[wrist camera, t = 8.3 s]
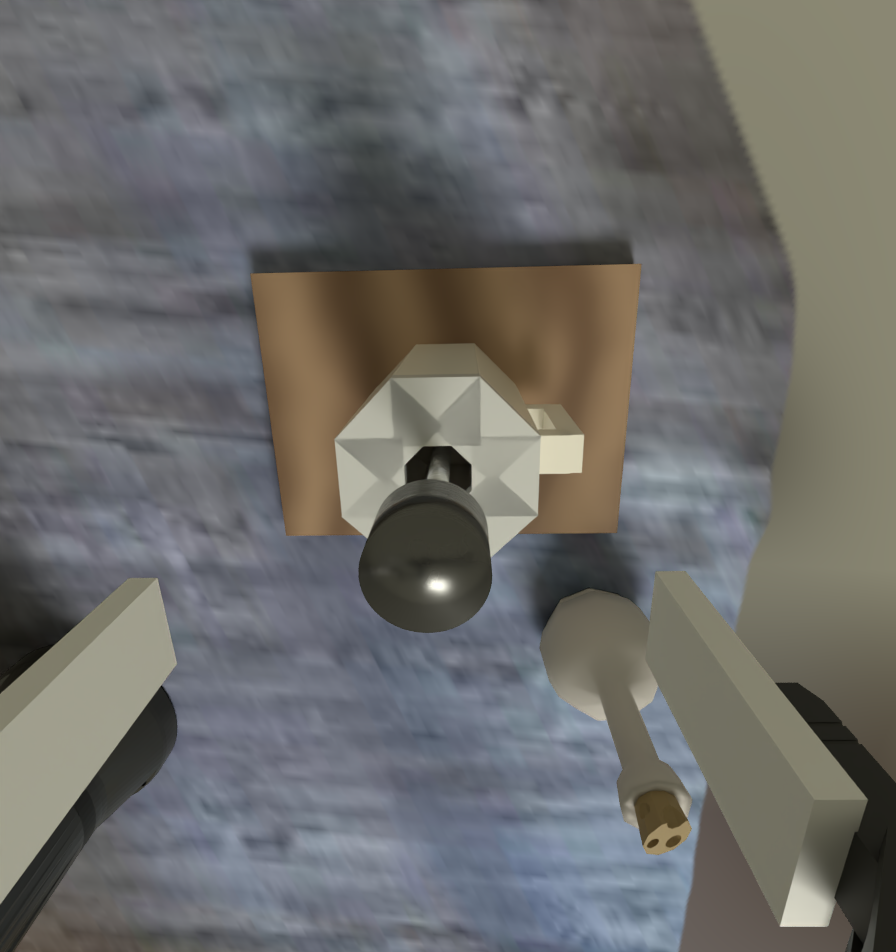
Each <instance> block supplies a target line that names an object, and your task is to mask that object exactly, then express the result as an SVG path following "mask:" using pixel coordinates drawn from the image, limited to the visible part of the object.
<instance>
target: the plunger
mask: <svg viewBox="0 0 896 952" xmlns="http://www.w3.org/2000/svg"><path fill="white" fill-rule="evenodd" d="M451 451H452V446H433V448H432V454H431V459H430V464H429V469H428V475H427V479H424V480H417V481H413V482H410V483H407V484H405V485H403V486H401V487H399V488H397V489H396V490H394V491H393V492H392V493H391V494H390V495H389V496H388V497H387V498H386V499H385V500H384V501H383V503H382V505H381V506H380V508H379V510H378V512H377V515H376V517H375V520H374V523H373V525H372V528H371V531H370V533H369V536H368V539H367V541H366V544H365V547H364V549H363V552H362V555H361V558H360V562H359V582H360V586H361V589H362V592H363V594H364V596H365V599H366V600H367V602H368V603H369V605H370V606H371V607H372V608H373V610H374V611H375V612H376V613H377V614H378V615H380V616H381V617H382V618H383V619H385V620H386V621H388V622H389V623H391V624H393V625H395V626H397V627H400V628H402V629H405V630H409V631H414V632H422V633H433V632H441V631H446V630H449V629H452V628H455V627H457V626H459V625H461V624H463V623H465V622H466V621H468V620H469V619H470V618H472V617H473V616H474V615H475V614H476V613H477V612H478V611H479V610H480V608H481V607H482V606H483V604H484V603H485V601H486V599H487V597H488V595H489V592H490V588H491V584H492V567H491V556H490V546H489V535H488V525H487V520H486V517H485V514H484V512H483V510H482V508H481V506H480V505H479V503H478V502H477V501H476V499H475V498H474V497H473V496H472V495H471V494H469V493H468V492H467V491H466V490H464V489H462V488H461V487H459V486H457V485H455V484H453V483H450V482H449V477H450V464H451Z"/></svg>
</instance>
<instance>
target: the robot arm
mask: <svg viewBox="0 0 896 952" xmlns="http://www.w3.org/2000/svg"><path fill="white" fill-rule="evenodd" d="M645 660H646V662H647V664H648V666H649V668H650V670H651V672H652V674H653V676H654V678H655V680H656V682H657V684H658V686H659V688H660V690H661V692H662V694H663V696H664V698H665V700H666V702H667V704H668V706H669V708H670V710H671V712H672V714H673V715H674V717H675V719H676V721H677V723H678V725H679V727H680V729H681V731H682V733H683V735H684V737H685V739H686V741H687V743H688V745H689V747H690V749H691V751H692V753H693V755H694V757H695V759H696V761H697V763H698V765H699V767H700V769H701V771H702V773H703V775H704V777H705V779H706V781H707V783H708V785H709V787H710V789H711V791H712V793H713V795H714V797H715V799H716V801H717V803H718V805H719V807H720V809H721V811H722V813H723V814H724V817H725V819H726V821H727V823H728V824H729V827H730V829H731V830H732V832H733V834H734V836H735V838H736V840H737V842H738V844H739V846H740V848H741V850H742V852H743V854H744V856H745V858H746V860H747V862H748V864H749V866H750V868H751V870H752V872H753V874H754V876H755V878H756V880H757V882H758V884H759V886H760V888H761V890H762V892H763V894H764V896H765V898H766V900H767V902H768V904H769V906H770V908H771V910H772V912H773V914H774V916H775V918H776V920H777V922H778V924H779V926H782V927H791V926H792V927H793V926H794V927H809V926H810V927H815V926H816V927H823V926H825V927H827V926H828V925H829V921H830V918H831V915H832V912H833V909H834V906H835V902H836V901H837V903H838V905H839V906H840V908H841V909H842V911H843V913H844V914H845V916H846V917H847V919H848V921H849V922H850V924H851V926H852V927H853V930H852V933H851V936H850V939H849V942H848V944H847V948H846V951H845V952H896V783H895V782H894V780H893V779H892V778H891V777H890V776H889V775H888V774H887V772H886V771H885V770H884V769H883V768H882V767H881V766H880V765H879V763H878V762H877V761H876V760H875V759H874V758H873V757H872V755H871V754H870V753H869V752H868V751H867V750H866V749H865V747H864V746H863V745H862V744H859V743H858V740H857V738H855V736H854V735H853V734H852V733H851V732H850V731H849V730H848V728H847V727H846V726H843V725H842V721H841V720H840V719H839V718H838V717H837V716H836V715H835V713H834V712H833V711H832V710H831V709H830V708H829V707H828V706H827V704H826V703H825V702H824V701H823V700H821V699H820V698H819V697H817V696H816V695H814V694H813V693H811V692H810V691H808V690H807V689H806V688H804V687H803V686H801V685H800V684H798V683H774V681H773V680H772V679H771V678H770V676H769V675H768V674H767V673H766V671H765V670H764V669H763V668H762V667H761V665H760V664H759V663H758V661H757V660H756V659H755V658H754V656H753V655H752V654H751V653H750V651H749V650H748V649H747V648H746V646H745V645H744V644H743V643H742V641H741V640H740V639H739V638H738V636H737V635H736V634H735V633H734V631H733V630H732V629H731V628H730V626H729V625H728V624H727V623H726V621H725V620H724V619H723V618H722V616H721V615H720V614H719V613H718V611H717V610H716V609H715V608H714V606H713V605H712V604H711V603H710V601H709V600H708V599H707V598H706V596H705V595H704V594H703V593H702V591H701V590H700V589H699V588H698V586H697V585H696V584H695V583H694V581H693V580H692V579H691V578H690V576H689V575H688V574H687V573H686V571H656V573H655V581H654V590H653V598H652V607H651V615H650V623H649V632H648V640H647V649H646V657H645ZM176 665H177V662H176V657H175V653H174V649H173V644H172V640H171V636H170V631H169V627H168V622H167V618H166V614H165V609H164V605H163V600H162V596H161V592H160V587H159V583H158V579H157V578H129V579H128V580H126V581H125V582H124V583H123V584H122V585H121V586H120V587H119V588H117V589H116V590H115V591H114V592H113V593H112V594H111V595H110V596H109V597H107V598H106V599H105V600H104V601H103V602H102V603H101V604H100V605H99V606H97V607H96V608H95V609H94V610H93V611H92V612H91V613H90V614H89V615H87V616H86V617H85V618H84V619H83V620H82V621H81V622H80V623H79V624H77V625H76V626H75V627H74V628H73V629H72V630H71V631H70V632H69V633H67V634H66V635H65V636H64V637H63V638H62V639H61V640H60V641H59V642H57V643H56V644H55V645H52V646H47V647H44V648H41V649H38V650H35V651H33V652H31V653H29V654H28V655H26V656H25V657H23V658H22V659H21V660H20V661H18V662H17V663H16V664H15V665H14V666H13V667H12V668H10V669H9V670H8V671H7V672H6V673H5V674H3V675H2V676H1V677H0V952H14V951H15V949H16V948H17V946H18V945H19V943H20V942H21V940H22V939H23V937H24V936H25V934H26V933H27V931H28V930H29V928H30V927H31V925H32V924H33V922H34V921H35V919H36V918H37V916H38V915H39V913H40V912H41V910H42V909H43V907H44V906H45V904H46V903H47V901H48V900H49V898H50V897H51V895H52V894H53V892H54V891H55V889H56V888H57V886H58V885H59V883H60V882H61V880H62V879H63V877H64V876H65V874H66V873H67V871H68V870H69V868H70V867H71V865H72V863H73V862H74V860H75V859H76V857H77V856H78V854H79V853H80V851H81V850H82V848H83V847H84V845H85V844H86V843H87V841H88V840H89V838H90V837H91V835H92V834H93V832H94V831H95V829H96V828H97V827H98V826H100V825H101V824H102V823H103V822H104V821H105V820H106V819H107V818H108V817H110V816H111V815H112V814H113V813H114V812H115V811H116V810H117V809H118V808H119V807H120V806H121V805H122V804H123V803H124V802H125V801H126V800H127V799H128V798H129V797H130V796H131V795H133V794H135V793H137V792H138V791H140V790H141V789H142V788H144V787H145V786H146V785H147V784H148V783H149V782H150V781H151V780H152V779H153V778H154V777H155V776H156V775H157V773H158V772H159V770H160V769H161V767H162V766H163V764H164V762H165V761H166V759H167V758H168V756H169V754H170V753H171V751H172V749H173V747H174V745H175V741H176V737H177V720H176V716H175V712H174V709H173V707H172V704H171V702H170V700H169V698H168V697H167V695H166V693H165V692H164V690H163V689H162V688H161V687H160V686H161V685H162V684H163V682H164V681H165V679H166V678H167V677H168V675H169V674H170V673H171V671H172V670H173V669H174V667H175V666H176Z"/></svg>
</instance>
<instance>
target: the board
mask: <svg viewBox="0 0 896 952" xmlns="http://www.w3.org/2000/svg"><path fill="white" fill-rule="evenodd" d="M640 274H641V264H618V265H577V266H537V267H497V268H457V269H417V270H376V271H336V272H296V273H256V274H251V282H252V289H253V296H254V304H255V311H256V318H257V326H258V333H259V340H260V348H261V355H262V362H263V369H264V377H265V384H266V391H267V399H268V406H269V413H270V421H271V428H272V435H273V443H274V450H275V457H276V465H277V472H278V479H279V486H280V494H281V501H282V508H283V516H284V523H285V530H286V536H297V535H363V534H362V533H360V532H359V531H358V530H357V529H356V528H354V527H353V526H352V525H351V524H350V523H348V522H347V521H346V520H345V519H344V518H342V511H341V501H340V491H339V480H338V470H337V460H336V449H335V437H336V436H337V435H338V434H339V433H340V431H341V430H342V429H343V428H344V426H345V425H346V424H347V423H348V422H349V420H350V419H351V418H352V417H353V416H354V414H355V413H356V412H357V411H358V409H359V408H360V407H361V406H362V405H363V403H364V402H365V401H366V400H367V399H368V397H369V396H370V395H371V394H372V392H373V391H374V390H375V389H376V388H377V386H379V385H380V384H381V382H382V381H383V380H384V379H385V378H386V377H387V376H388V375H389V374H390V373H391V371H392V370H393V369H394V368H395V367H396V366H397V365H398V364H399V363H400V362H401V361H402V359H403V358H404V357H405V356H406V355H407V354H408V353H409V352H410V351H411V350H412V349H413V347H414V346H415V345H416V344H465V343H475V344H476V345H477V346H478V347H479V348H480V349H481V350H482V351H483V352H484V353H485V354H486V355H487V356H488V357H489V358H490V359H491V360H492V361H493V362H494V363H495V364H496V365H497V366H498V367H499V368H500V369H501V370H502V371H503V372H504V373H505V374H506V375H507V376H508V377H509V378H510V379H511V380H512V381H513V382H514V383H515V384H516V386H517V388H518V390H519V392H520V395H521V397H522V399H523V401H524V403H525V404H561V405H562V407H563V408H564V409H565V411H566V412H567V413H568V414H569V416H570V417H571V418H572V420H573V421H574V422H575V423H576V425H577V426H578V427H579V429H580V430H581V431H582V432H583V434H584V445H583V461H582V473H570V474H539V498H538V516H537V517H536V518H534V519H533V520H532V521H531V522H530V523H529V524H528V525H527V526H525V527H524V528H523V529H522V530H521V531H520V532H519V533H518V534H549V533H617V526H618V515H619V504H620V493H621V482H622V471H623V460H624V449H625V438H626V427H627V417H628V406H629V395H630V384H631V373H632V362H633V351H634V340H635V329H636V318H637V307H638V296H639V285H640Z"/></svg>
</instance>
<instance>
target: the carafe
mask: <svg viewBox="0 0 896 952" xmlns="http://www.w3.org/2000/svg"><path fill="white" fill-rule="evenodd" d="M583 445H584V434H583V432H582V431H581V430H580V429H579V427H578V426H577V425H576V423H575V422H574V421H573V420H572V418H571V417H570V416H569V414H568V413H567V412H566V411H565V409H564V408H563V407H562V405H561V404H525V403H524V401H523V399H522V397H521V395H520V392H519V390H518V388H517V386H516V384H515V383H514V382H513V381H512V380H511V379H510V378H509V377H508V376H507V375H506V374H505V373H504V372H503V371H502V370H501V369H500V368H499V367H498V366H497V365H496V364H495V363H494V362H493V361H492V360H491V359H490V358H489V357H488V356H487V355H486V354H485V353H484V352H483V351H482V350H481V349H480V348H479V347H478V346H477V345H476V344H475V343H465V344H416V345H415V346H414V347H413V349H412V350H411V351H410V352H409V353H408V354H407V355H406V356H405V357H404V358H403V359H402V361H401V362H400V363H399V364H398V365H397V366H396V367H395V368H394V369H393V370H392V371H391V373H390V374H389V375H388V376H387V377H386V378H385V379H384V380H383V381H382V382H381V384H380V385H379V386H377V388H376V389H375V390H374V391H373V392H372V394H371V395H370V396H369V397H368V399H367V400H366V401H365V402H364V403H363V405H362V406H361V407H360V408H359V409H358V411H357V412H356V413H355V414H354V416H353V417H352V418H351V419H350V420H349V422H348V423H347V424H346V425H345V426H344V428H343V429H342V430H341V431H340V433H339V434H338V435H337V436H336V437H335V449H336V460H337V470H338V480H339V491H340V501H341V511H342V518H344V519H345V520H346V521H347V522H348V523H350V524H351V525H352V526H353V527H354V528H356V529H357V530H358V531H359V532H360V533H362V534H363V535H364V536H365V537H366V538H368V536H369V533H370V531H371V528H372V525H373V523H374V520H375V517H376V515H377V512H378V510H379V508H380V506H381V505H382V503H383V501H384V500H385V499H386V498H387V497H388V496H389V495H390V494H391V493H392V492H393V491H394V490H396V489H397V488H399V487H401V486H403V485H405V484H407V483H410V482H413V481H417V480H424V479H427V475H428V469H429V464H430V459H431V454H432V448H433V446H452V451H451V464H450V477H449V482H450V483H453V484H455V485H457V486H459V487H461V488H462V489H464V490H466V491H467V492H468V493H469V494H471V495H472V496H473V497H474V498H475V499H476V501H477V502H478V503H479V505H480V506H481V508H482V510H483V512H484V514H485V517H486V520H487V525H488V535H489V546H490V556H491V557H492V556H493V555H494V554H495V553H496V552H497V551H498V550H500V549H501V548H502V547H503V546H504V545H505V544H506V543H507V542H509V541H510V540H511V539H512V538H513V537H514V536H515V535H516V534H518V533H519V532H520V531H521V530H522V529H523V528H524V527H525V526H527V525H528V524H529V523H530V522H531V521H532V520H533V519H534V518H536V517H537V516H538V498H539V474H570V473H582V461H583Z"/></svg>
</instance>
